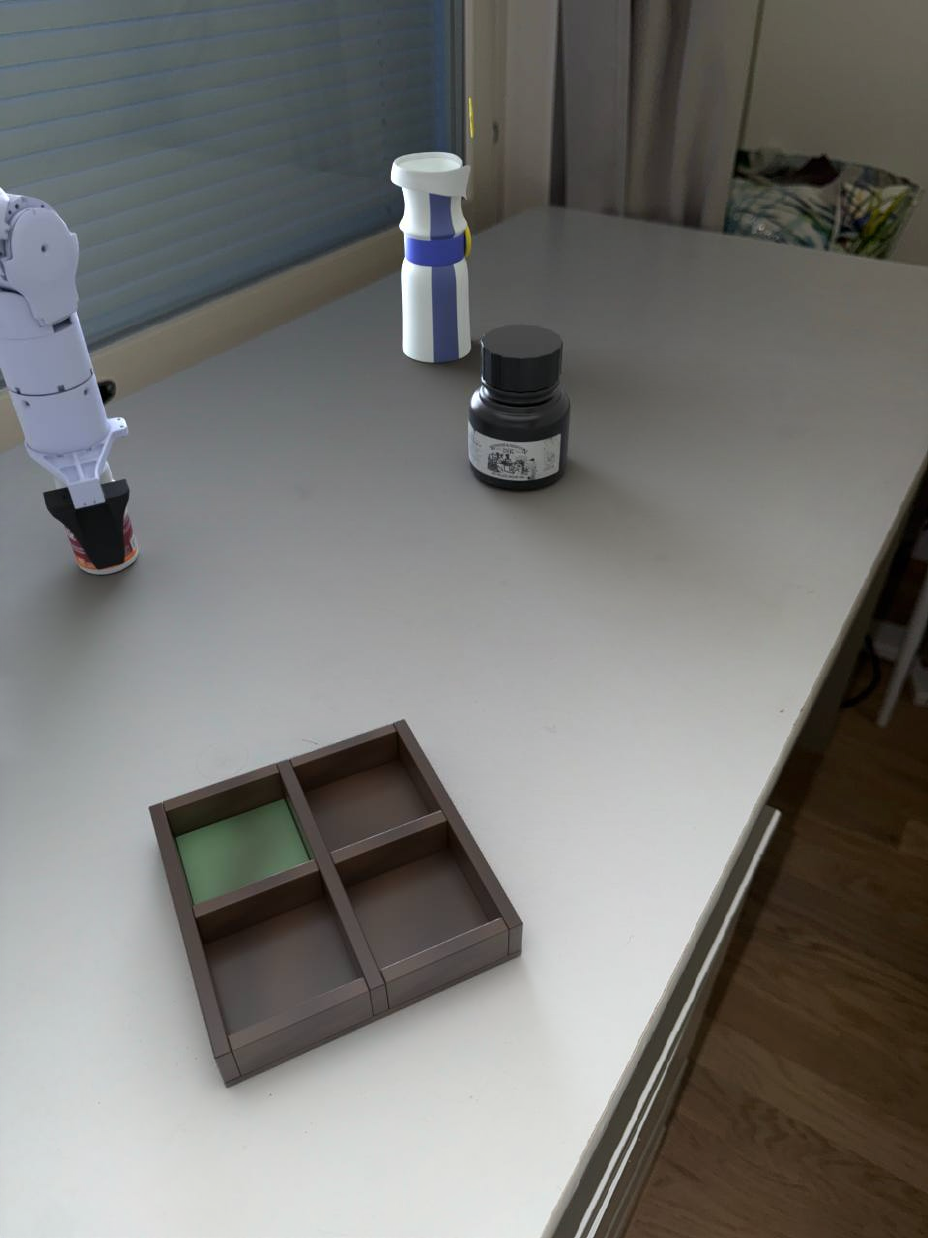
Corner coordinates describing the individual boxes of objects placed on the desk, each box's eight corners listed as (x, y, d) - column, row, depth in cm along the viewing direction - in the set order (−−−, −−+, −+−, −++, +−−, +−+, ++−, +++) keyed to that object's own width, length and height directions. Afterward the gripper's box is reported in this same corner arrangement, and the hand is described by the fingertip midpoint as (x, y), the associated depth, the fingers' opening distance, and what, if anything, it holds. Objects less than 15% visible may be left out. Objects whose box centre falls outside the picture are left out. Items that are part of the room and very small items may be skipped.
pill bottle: (65, 568, 73) (32, 477, 67) (104, 536, 76) (75, 446, 71) (114, 582, 71) (84, 490, 66) (151, 548, 75) (126, 458, 69)
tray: (226, 1089, 42) (214, 1059, 40) (160, 839, 53) (147, 806, 51) (521, 955, 47) (523, 923, 45) (406, 750, 58) (404, 717, 56)
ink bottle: (450, 481, 82) (447, 354, 74) (483, 435, 88) (483, 313, 81) (556, 501, 79) (564, 371, 72) (581, 451, 86) (592, 327, 78)
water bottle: (460, 327, 108) (457, 84, 92) (484, 356, 102) (485, 102, 86) (392, 336, 106) (377, 90, 90) (412, 367, 100) (400, 109, 84)
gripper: (127, 409, 60) (172, 574, 69) (94, 328, 70) (137, 481, 79) (12, 433, 58) (74, 600, 67) (-5, 346, 68) (51, 501, 77)
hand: (102, 537), depth 73 cm, fingers open, 7 cm apart
